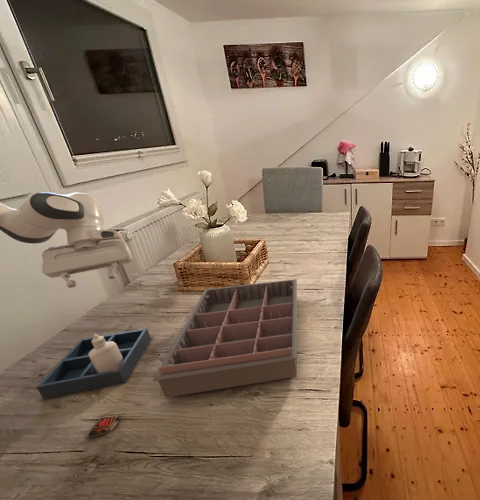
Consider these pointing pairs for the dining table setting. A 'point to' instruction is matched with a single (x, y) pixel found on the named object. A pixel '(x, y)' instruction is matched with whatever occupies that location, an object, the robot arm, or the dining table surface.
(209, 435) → the dining table surface
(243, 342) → the organizer tray
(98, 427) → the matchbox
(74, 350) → the grid
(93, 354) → the eye dropper bottle
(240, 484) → the dining table surface
